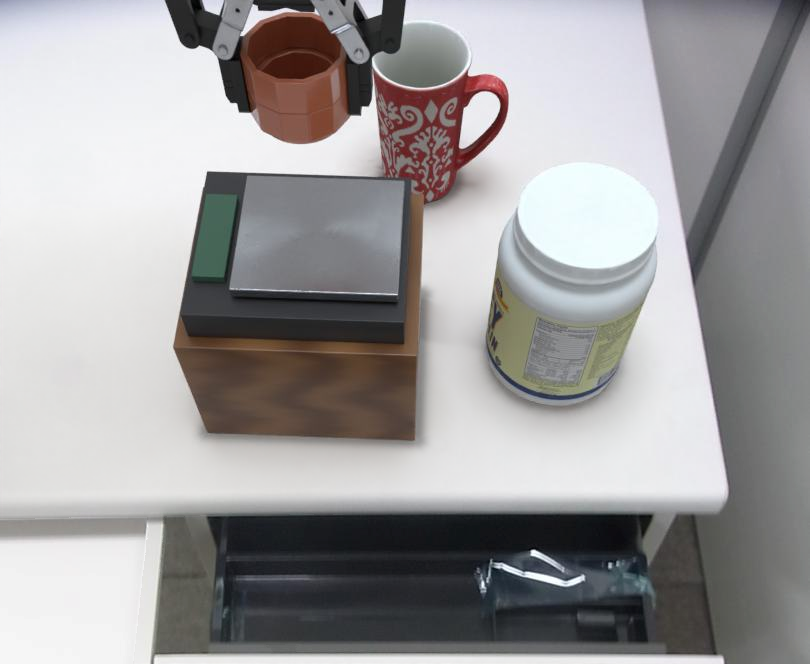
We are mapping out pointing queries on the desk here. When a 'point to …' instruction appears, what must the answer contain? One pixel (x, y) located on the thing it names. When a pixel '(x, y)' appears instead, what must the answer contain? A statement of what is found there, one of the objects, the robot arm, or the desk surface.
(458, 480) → the desk surface
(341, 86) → the bowl
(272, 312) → the scale
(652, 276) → the supplement tub
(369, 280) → the scale pan
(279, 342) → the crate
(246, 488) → the desk surface
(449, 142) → the mug
